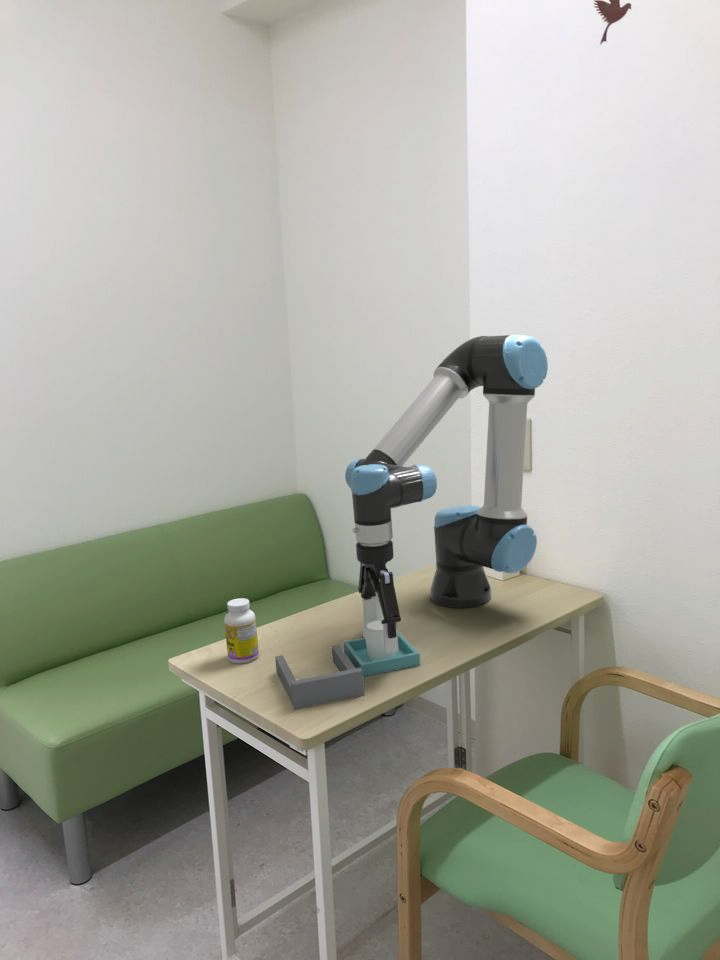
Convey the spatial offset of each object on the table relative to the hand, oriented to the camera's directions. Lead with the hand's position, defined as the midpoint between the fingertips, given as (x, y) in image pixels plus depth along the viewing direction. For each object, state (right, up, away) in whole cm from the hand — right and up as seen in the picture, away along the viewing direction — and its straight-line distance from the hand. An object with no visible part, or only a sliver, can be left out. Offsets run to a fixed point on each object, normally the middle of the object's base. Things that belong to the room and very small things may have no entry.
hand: (380, 639), depth 160 cm
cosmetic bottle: (-1, -2, +13) cm, 13 cm away
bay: (-13, -7, -9) cm, 17 cm away
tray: (0, -4, +1) cm, 4 cm away
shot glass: (0, -4, +1) cm, 4 cm away
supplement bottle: (-30, -5, +5) cm, 31 cm away
